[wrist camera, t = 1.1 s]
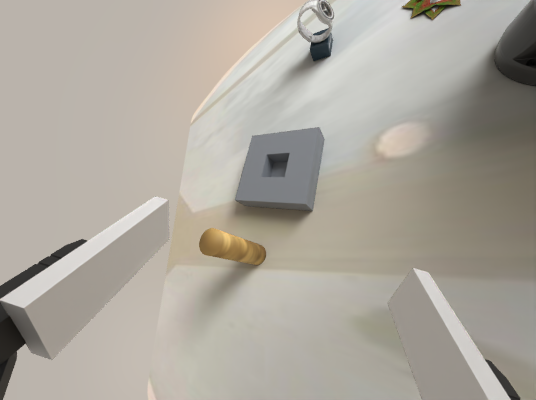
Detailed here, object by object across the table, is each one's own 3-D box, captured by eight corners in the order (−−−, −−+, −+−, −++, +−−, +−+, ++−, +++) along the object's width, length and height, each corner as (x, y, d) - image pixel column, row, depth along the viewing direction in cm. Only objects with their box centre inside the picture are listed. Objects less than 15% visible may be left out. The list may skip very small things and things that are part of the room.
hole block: (260, 145, 54) (252, 136, 50) (324, 138, 45) (319, 127, 42) (245, 206, 49) (234, 199, 46) (312, 210, 41) (306, 203, 38)
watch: (338, 53, 52) (327, 3, 43) (307, 63, 56) (291, 19, 47) (340, 36, 54) (330, -15, 45) (309, 47, 58) (295, 2, 49)
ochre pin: (251, 243, 45) (204, 226, 33) (267, 246, 43) (223, 229, 31) (246, 262, 44) (196, 252, 32) (263, 266, 42) (215, 257, 30)
